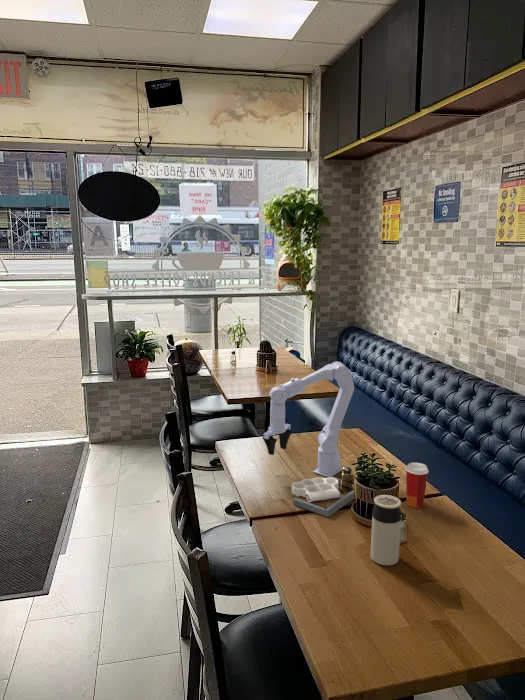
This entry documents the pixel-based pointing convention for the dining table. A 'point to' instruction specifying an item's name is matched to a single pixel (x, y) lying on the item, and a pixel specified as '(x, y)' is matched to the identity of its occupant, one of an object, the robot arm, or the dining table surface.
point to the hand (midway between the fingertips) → (277, 451)
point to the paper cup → (416, 484)
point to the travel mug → (386, 530)
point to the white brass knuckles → (316, 488)
